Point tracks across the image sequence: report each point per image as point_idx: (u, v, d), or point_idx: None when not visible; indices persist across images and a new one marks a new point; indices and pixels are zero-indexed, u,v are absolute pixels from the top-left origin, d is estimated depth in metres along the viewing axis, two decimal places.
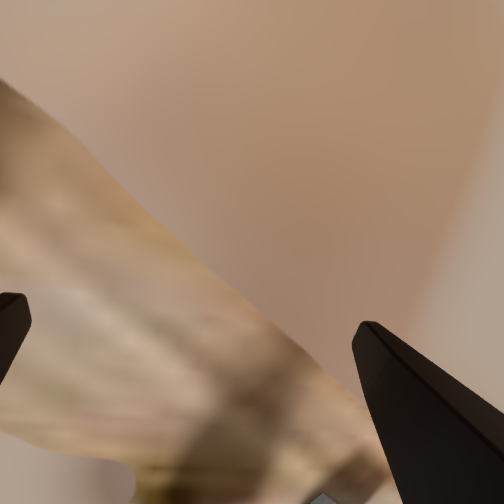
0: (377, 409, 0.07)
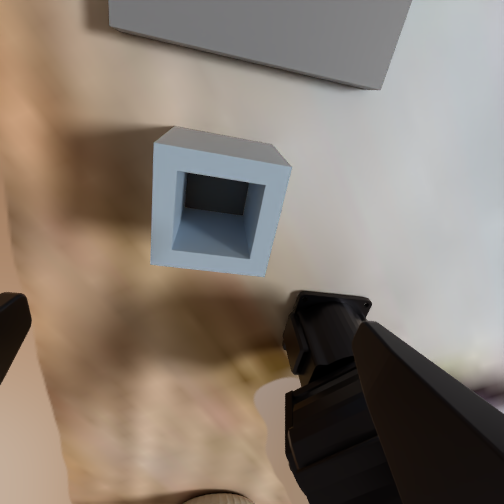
0: (377, 409, 0.07)
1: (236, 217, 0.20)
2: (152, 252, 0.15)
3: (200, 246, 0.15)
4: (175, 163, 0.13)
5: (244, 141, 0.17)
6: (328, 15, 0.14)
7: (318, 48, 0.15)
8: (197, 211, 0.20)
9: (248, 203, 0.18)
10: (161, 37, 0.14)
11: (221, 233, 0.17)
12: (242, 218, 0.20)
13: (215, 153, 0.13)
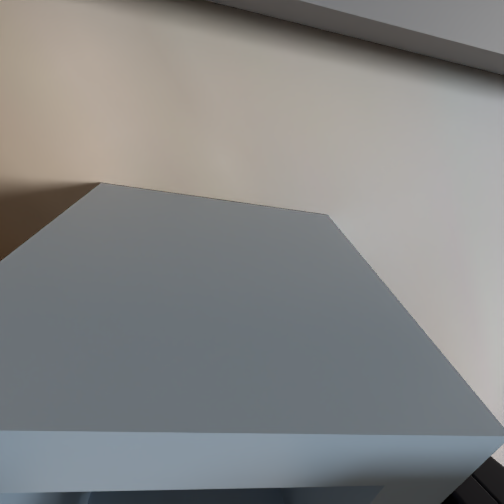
0: None
1: None
2: None
3: None
4: None
5: (269, 220, 0.07)
6: None
7: None
8: None
9: None
10: None
11: None
12: None
13: (167, 424, 0.03)
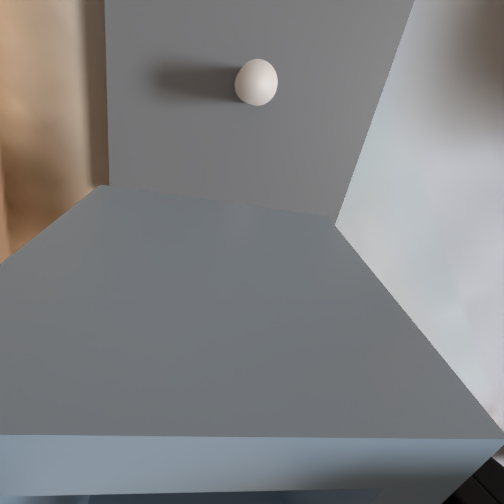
0: None
1: None
2: None
3: None
4: None
5: (268, 221, 0.07)
6: (286, 182, 0.18)
7: (279, 203, 0.18)
8: None
9: None
10: None
11: None
12: None
13: (166, 428, 0.03)
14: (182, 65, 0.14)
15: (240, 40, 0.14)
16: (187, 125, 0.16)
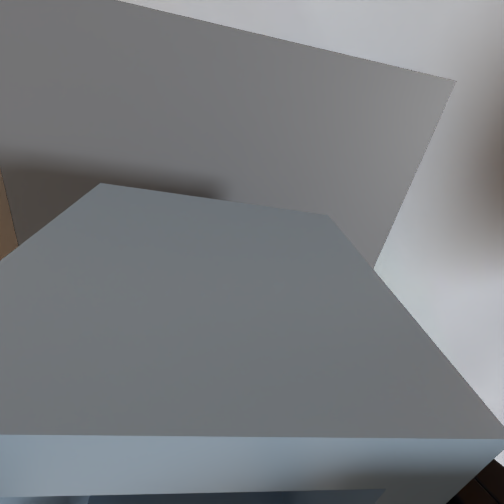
0: None
1: None
2: None
3: None
4: None
5: (269, 220, 0.07)
6: None
7: None
8: None
9: None
10: None
11: None
12: None
13: (167, 428, 0.02)
14: None
15: None
16: None
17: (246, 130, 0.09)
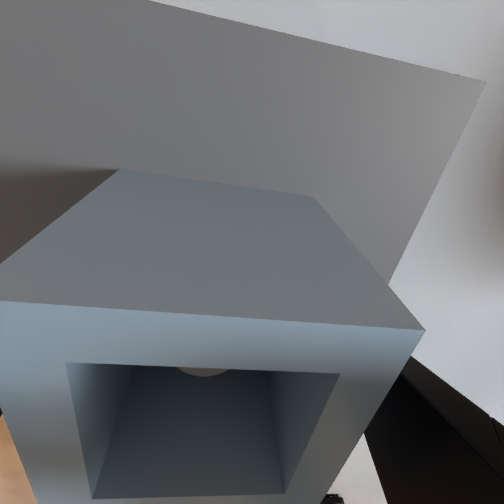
0: None
1: None
2: None
3: (168, 458, 0.07)
4: (54, 346, 0.04)
5: (262, 199, 0.08)
6: None
7: None
8: None
9: None
10: None
11: (217, 384, 0.09)
12: None
13: (187, 310, 0.04)
14: None
15: None
16: None
17: (249, 138, 0.08)
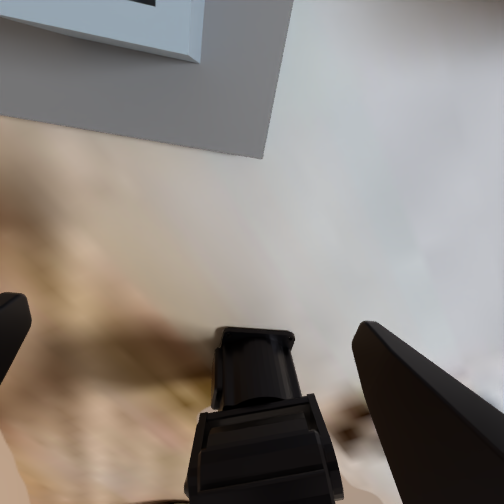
0: (377, 409, 0.07)
1: None
2: None
3: None
4: None
5: None
6: (198, 98, 0.15)
7: (194, 126, 0.16)
8: None
9: None
10: (41, 121, 0.15)
11: None
12: None
13: None
14: None
15: None
16: None
17: None
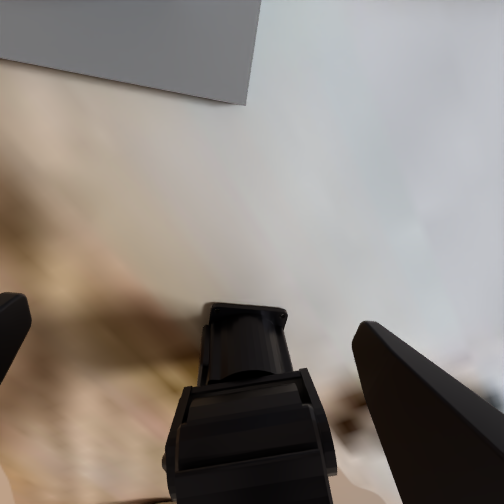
0: (377, 409, 0.07)
1: None
2: None
3: None
4: None
5: None
6: (174, 34, 0.14)
7: (171, 66, 0.15)
8: None
9: None
10: (6, 58, 0.14)
11: None
12: None
13: None
14: None
15: None
16: None
17: None
